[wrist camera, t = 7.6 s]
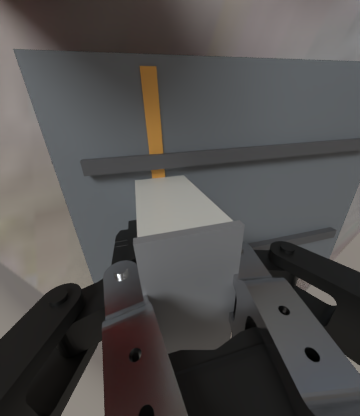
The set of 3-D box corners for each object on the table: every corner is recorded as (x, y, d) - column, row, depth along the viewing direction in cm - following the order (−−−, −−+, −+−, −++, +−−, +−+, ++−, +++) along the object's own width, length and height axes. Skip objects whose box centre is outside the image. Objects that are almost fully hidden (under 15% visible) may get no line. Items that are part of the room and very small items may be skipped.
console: (357, 75, 15) (420, 60, 11) (302, 250, 22) (331, 270, 19) (45, 70, 10) (3, 42, 7) (111, 293, 18) (106, 329, 14)
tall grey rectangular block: (184, 173, 11) (244, 225, 5) (187, 252, 14) (229, 346, 8) (132, 178, 10) (133, 244, 5) (145, 260, 13) (156, 369, 7)
